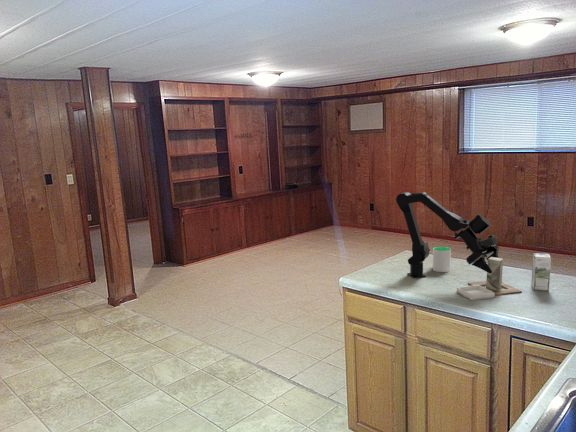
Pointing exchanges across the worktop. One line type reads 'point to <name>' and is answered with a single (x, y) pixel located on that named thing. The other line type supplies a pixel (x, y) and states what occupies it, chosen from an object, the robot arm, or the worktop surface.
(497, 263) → the box
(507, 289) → the walnut frame
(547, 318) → the worktop surface
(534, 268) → the syrup box
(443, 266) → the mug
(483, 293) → the white tray
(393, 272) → the worktop surface
